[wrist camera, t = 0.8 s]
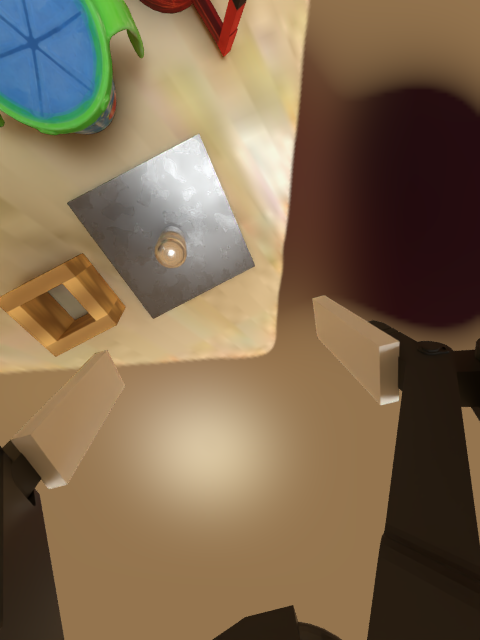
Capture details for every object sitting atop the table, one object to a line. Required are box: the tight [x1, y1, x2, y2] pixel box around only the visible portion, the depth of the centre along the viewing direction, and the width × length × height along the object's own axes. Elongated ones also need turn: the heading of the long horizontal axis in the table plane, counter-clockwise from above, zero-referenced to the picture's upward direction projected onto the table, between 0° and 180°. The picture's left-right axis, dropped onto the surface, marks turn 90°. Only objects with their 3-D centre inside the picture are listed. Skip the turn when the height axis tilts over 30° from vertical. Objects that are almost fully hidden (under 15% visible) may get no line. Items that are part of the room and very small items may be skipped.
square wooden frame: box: [0, 253, 125, 357], centre depth 32 cm, size 9×9×6 cm
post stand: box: [67, 134, 255, 319], centre depth 29 cm, size 18×18×12 cm
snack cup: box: [0, 0, 144, 135], centre depth 21 cm, size 16×10×10 cm
